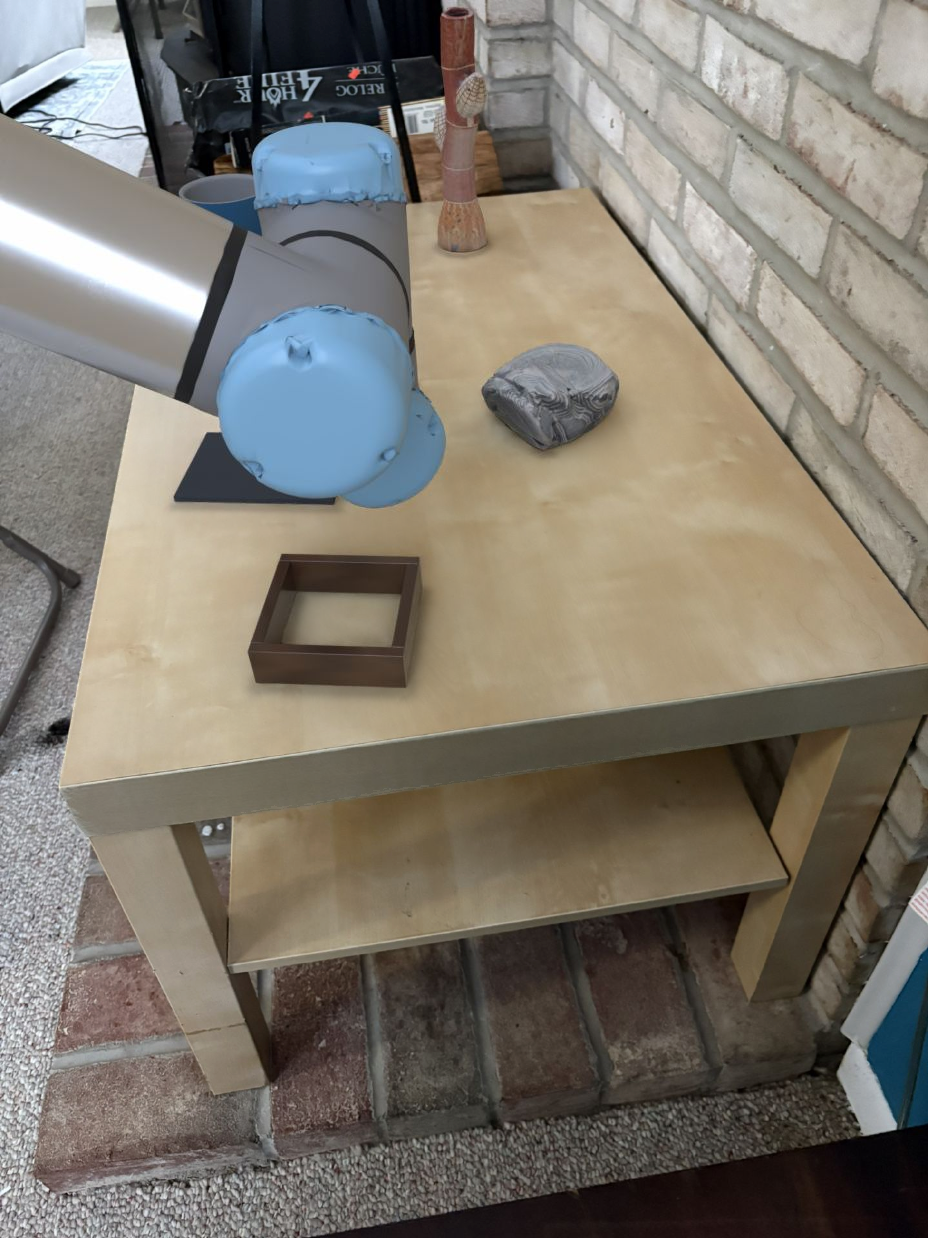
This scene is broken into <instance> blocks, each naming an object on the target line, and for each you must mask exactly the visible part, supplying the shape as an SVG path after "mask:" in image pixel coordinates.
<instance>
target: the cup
mask: <svg viewBox="0 0 928 1238" xmlns="http://www.w3.org/2000/svg"><path fill="white" fill-rule="evenodd" d="M178 197H180V198H182V199H184V200H186V201H188V202H190V203H193V204H195V205H197V206H199V207H201V208H203V209H205V210H207V211H210V212H212V213H214V214H216V215H218V216H220V217H222V218H224V219H227V220H229V221H231V222H233V224H236V225H238V226H240V227H242V228H244V229H246V230H248V231H251V232H253V233H255V234H257V235H260V236H262V230H261V225H260V220H259V216H258V211H257V210H255V209H254V200H255V198H256V195H255V186H254V178H253V174H250V173H249V174H248V173H225V174H224V173H223V174H215V175H210V176H209V175H208V176H204V177H201V178H198V179H194V180H192V181H190V182H188V183H186V184H183V186H182V187H181V188H180V189H179V191H178Z"/></svg>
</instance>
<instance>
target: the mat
mask: <svg viewBox="0 0 928 1238" xmlns="http://www.w3.org/2000/svg"><path fill="white" fill-rule="evenodd" d="M336 498H337V497H331V498H302V497H296V496H292V495H288V494H285V493H282V492H279V491H276V490H274V489H272V488H270V487H268V486H266V485H264V484H263V483H261V482H259V481H258V480H257V479H256V477H255V476H254V475H252V474H251V473H250V472H249V471H248V470H247V469H246V468H244V466H243V465H242V464H241V463H240V462H239V461H237V460H236V459H235V457H234V456H233V455H232V454H231V452H230V450H229V449H228V447H227V445H226V443H225V440H224V438H223V436H222V432H221V431H220V432H219V431H208V432H206V433H205V435H204V436H203V439H202V441H201V442H200V445H199V446H198V448H197V450H196V452H195V454H194V456H193V458H192V460H191V462H190V464H189V466H188V468H187V469H186V472H185V473H184V475H183V477H182V479H181V481H180V483H179V485H178V487H177V489H176V491H175V492H174V494H173V500H174V502H189V503H190V502H191V503H192V502H195V503H241V504H242V503H247V504H249V503H250V504H298V505H299V504H300V505H334V504H335V501H336Z"/></svg>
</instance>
